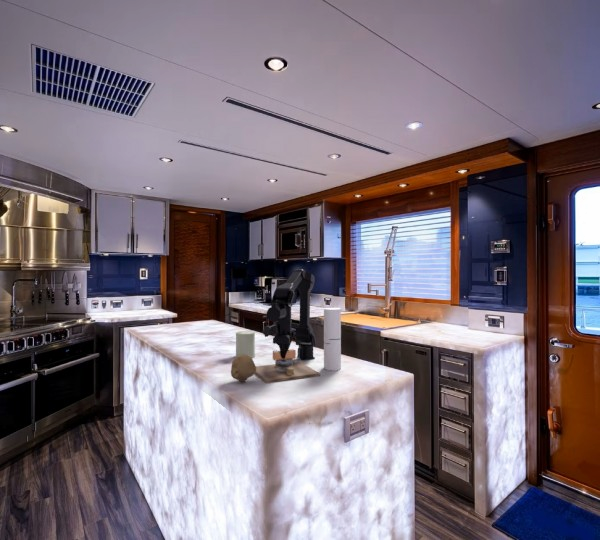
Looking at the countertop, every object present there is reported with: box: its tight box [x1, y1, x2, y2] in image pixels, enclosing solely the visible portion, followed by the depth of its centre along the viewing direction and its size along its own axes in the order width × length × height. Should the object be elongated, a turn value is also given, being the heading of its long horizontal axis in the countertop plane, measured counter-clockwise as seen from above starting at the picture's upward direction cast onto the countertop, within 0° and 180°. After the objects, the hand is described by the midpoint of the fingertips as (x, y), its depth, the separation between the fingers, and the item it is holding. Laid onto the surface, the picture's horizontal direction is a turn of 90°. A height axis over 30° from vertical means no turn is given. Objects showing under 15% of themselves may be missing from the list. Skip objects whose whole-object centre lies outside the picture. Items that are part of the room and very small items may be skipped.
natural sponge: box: [230, 354, 257, 383], centre depth 131 cm, size 9×9×10 cm
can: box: [235, 330, 256, 359], centre depth 171 cm, size 9×9×12 cm
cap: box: [272, 349, 297, 367], centre depth 143 cm, size 9×7×6 cm
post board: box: [254, 361, 321, 384], centre depth 143 cm, size 22×20×3 cm
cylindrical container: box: [323, 307, 342, 371], centre depth 150 cm, size 7×7×25 cm
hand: (284, 357), depth 143 cm, fingers closed on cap, 3 cm apart
